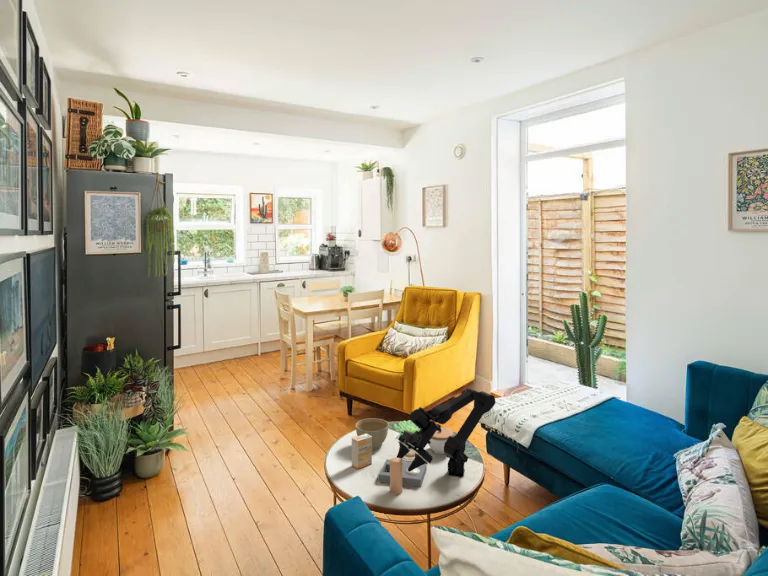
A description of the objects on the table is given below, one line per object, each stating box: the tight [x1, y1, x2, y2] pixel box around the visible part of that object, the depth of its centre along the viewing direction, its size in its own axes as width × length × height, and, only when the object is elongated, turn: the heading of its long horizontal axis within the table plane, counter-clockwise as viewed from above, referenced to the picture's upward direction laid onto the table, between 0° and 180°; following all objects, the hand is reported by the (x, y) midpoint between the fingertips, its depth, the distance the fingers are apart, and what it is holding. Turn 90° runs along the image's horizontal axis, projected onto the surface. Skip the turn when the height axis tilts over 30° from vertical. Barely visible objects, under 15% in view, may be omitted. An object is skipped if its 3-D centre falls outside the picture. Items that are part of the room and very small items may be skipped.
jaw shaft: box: [389, 457, 403, 496], centre depth 189 cm, size 5×5×13 cm
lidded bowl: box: [427, 426, 454, 455], centre depth 226 cm, size 13×13×11 cm
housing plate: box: [378, 458, 428, 488], centre depth 203 cm, size 18×14×3 cm
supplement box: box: [351, 434, 373, 470], centre depth 212 cm, size 8×5×13 cm, turn 130°
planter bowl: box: [355, 417, 389, 450], centre depth 231 cm, size 16×16×11 cm
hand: (402, 466), depth 191 cm, fingers open, 9 cm apart
